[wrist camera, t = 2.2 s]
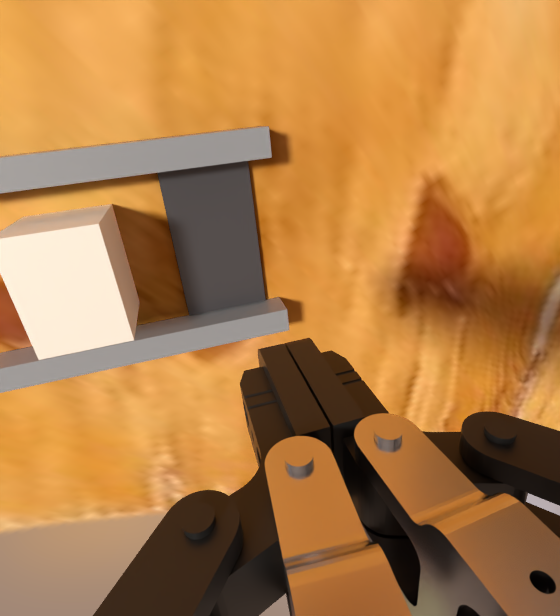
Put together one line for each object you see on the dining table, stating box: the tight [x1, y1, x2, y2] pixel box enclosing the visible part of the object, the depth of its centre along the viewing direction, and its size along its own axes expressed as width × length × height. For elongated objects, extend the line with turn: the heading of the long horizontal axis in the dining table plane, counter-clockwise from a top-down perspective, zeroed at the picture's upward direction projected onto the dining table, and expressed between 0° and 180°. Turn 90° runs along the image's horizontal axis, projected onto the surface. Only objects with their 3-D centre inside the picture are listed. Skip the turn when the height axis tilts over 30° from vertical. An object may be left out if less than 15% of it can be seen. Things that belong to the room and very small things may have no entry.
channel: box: [0, 126, 289, 393], centre depth 22 cm, size 20×12×2 cm, turn 95°
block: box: [0, 204, 140, 360], centre depth 21 cm, size 4×6×5 cm
